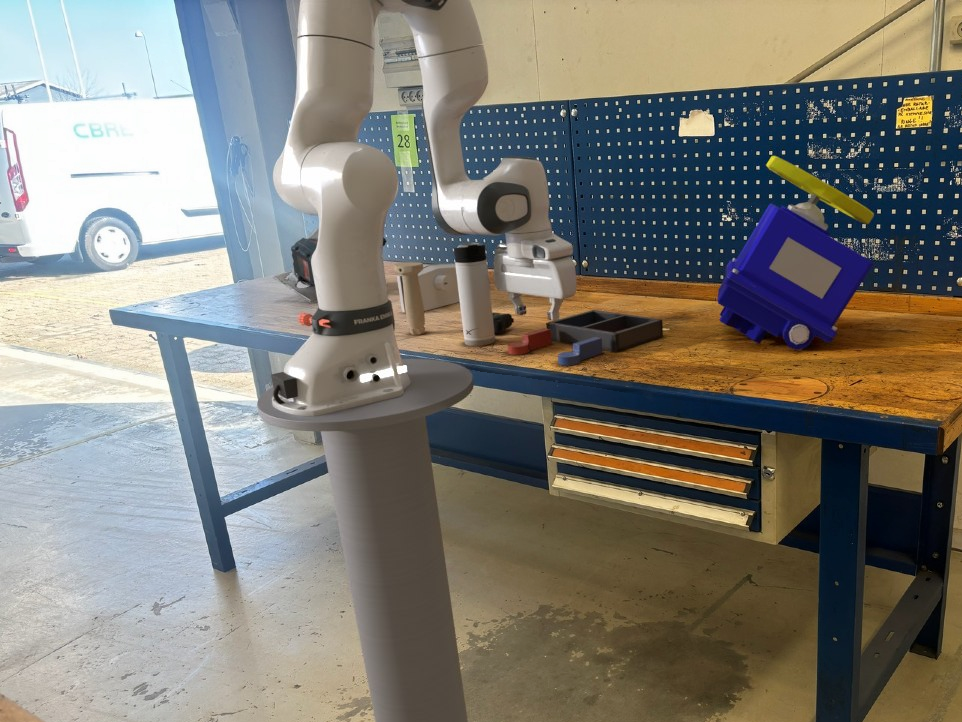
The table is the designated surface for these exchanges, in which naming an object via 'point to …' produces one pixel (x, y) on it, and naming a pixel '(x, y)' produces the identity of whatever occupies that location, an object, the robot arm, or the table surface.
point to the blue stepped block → (581, 351)
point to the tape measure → (502, 322)
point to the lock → (435, 286)
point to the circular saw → (303, 267)
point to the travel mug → (474, 295)
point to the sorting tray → (606, 329)
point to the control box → (794, 268)
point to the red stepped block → (530, 342)
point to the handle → (412, 296)
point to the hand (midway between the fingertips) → (537, 317)
